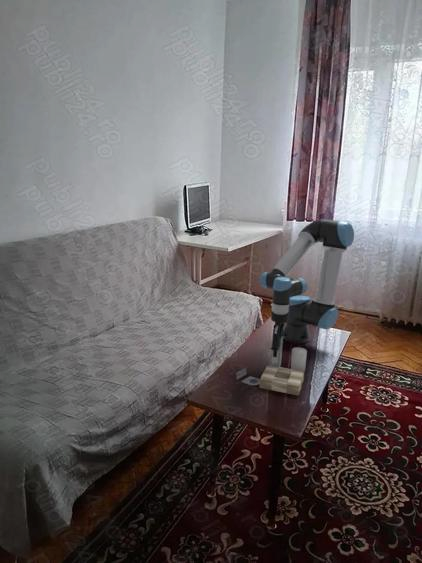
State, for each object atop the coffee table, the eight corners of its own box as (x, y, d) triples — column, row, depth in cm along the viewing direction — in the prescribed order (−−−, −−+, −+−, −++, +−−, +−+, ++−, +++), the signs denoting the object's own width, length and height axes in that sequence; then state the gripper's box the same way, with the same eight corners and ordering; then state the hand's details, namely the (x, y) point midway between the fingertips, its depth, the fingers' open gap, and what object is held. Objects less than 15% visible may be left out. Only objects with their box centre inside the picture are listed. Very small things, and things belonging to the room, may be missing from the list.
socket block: (267, 373, 184) (267, 364, 183) (303, 380, 179) (304, 371, 178) (259, 387, 171) (260, 378, 170) (298, 395, 166) (299, 386, 165)
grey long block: (272, 362, 194) (274, 334, 190) (280, 364, 193) (283, 336, 189) (270, 366, 190) (272, 338, 187) (279, 368, 189) (281, 339, 185)
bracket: (255, 388, 171) (255, 380, 170) (236, 380, 178) (236, 372, 177) (264, 382, 176) (264, 375, 175) (245, 375, 182) (245, 367, 181)
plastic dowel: (291, 364, 193) (293, 346, 191) (306, 366, 191) (307, 348, 189) (289, 370, 187) (291, 352, 185) (304, 373, 185) (305, 354, 183)
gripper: (275, 305, 194) (272, 350, 200) (266, 317, 178) (263, 366, 183) (291, 307, 192) (287, 353, 198) (284, 319, 175) (280, 370, 181)
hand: (276, 359), depth 191 cm, fingers open, 6 cm apart
